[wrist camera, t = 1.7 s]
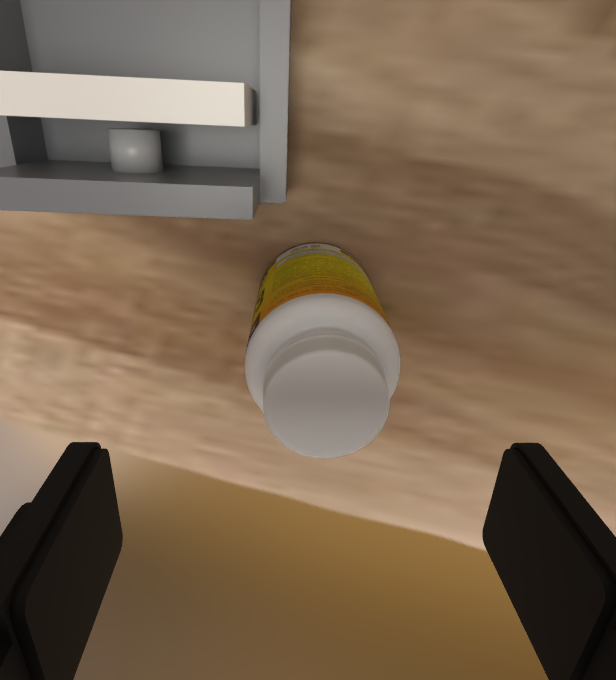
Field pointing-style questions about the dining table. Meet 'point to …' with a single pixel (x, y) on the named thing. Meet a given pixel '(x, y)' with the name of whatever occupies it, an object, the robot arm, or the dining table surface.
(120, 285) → the dining table surface
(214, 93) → the pusher paddle
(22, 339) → the dining table surface
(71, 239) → the dining table surface
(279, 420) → the supplement bottle
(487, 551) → the robot arm
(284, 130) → the pusher lane
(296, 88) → the dining table surface
